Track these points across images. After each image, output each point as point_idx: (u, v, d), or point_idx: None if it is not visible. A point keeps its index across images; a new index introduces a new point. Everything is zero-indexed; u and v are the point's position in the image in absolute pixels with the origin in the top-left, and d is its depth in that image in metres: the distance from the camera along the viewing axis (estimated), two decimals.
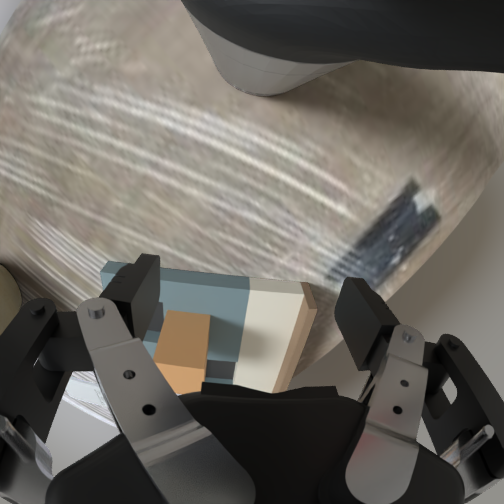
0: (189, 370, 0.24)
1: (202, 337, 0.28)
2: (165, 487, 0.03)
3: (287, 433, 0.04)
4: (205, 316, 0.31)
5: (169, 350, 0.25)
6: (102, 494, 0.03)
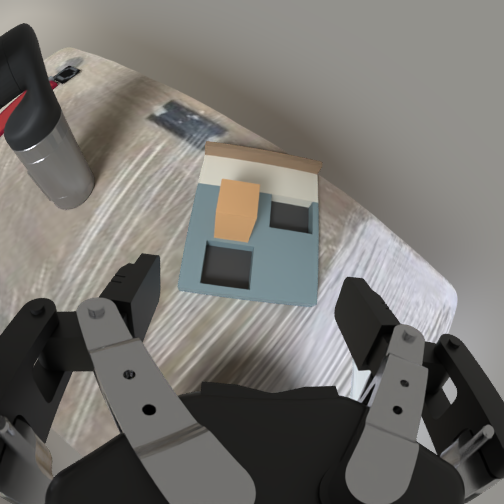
0: (223, 187, 0.35)
1: None
2: (165, 487, 0.03)
3: (287, 433, 0.04)
4: None
5: None
6: (102, 494, 0.03)
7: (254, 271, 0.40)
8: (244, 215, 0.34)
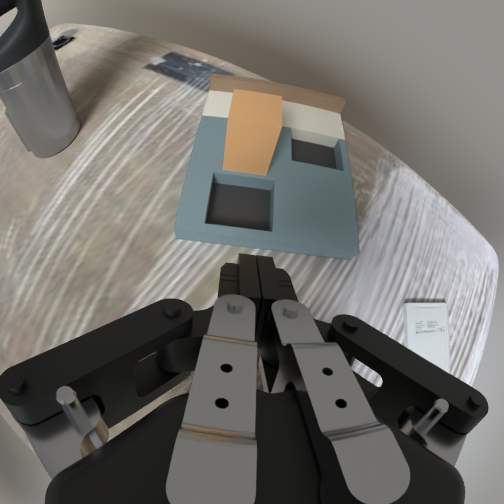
0: (236, 96, 0.25)
1: None
2: (165, 487, 0.03)
3: (287, 433, 0.04)
4: None
5: None
6: None
7: (277, 209, 0.30)
8: (265, 122, 0.24)
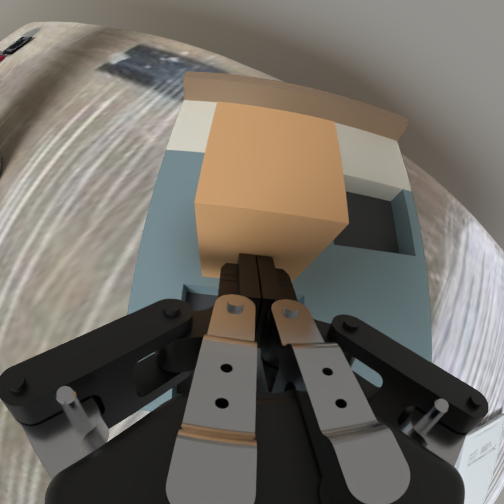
0: (222, 123, 0.10)
1: None
2: (165, 487, 0.03)
3: (287, 433, 0.04)
4: None
5: None
6: None
7: None
8: (304, 211, 0.09)
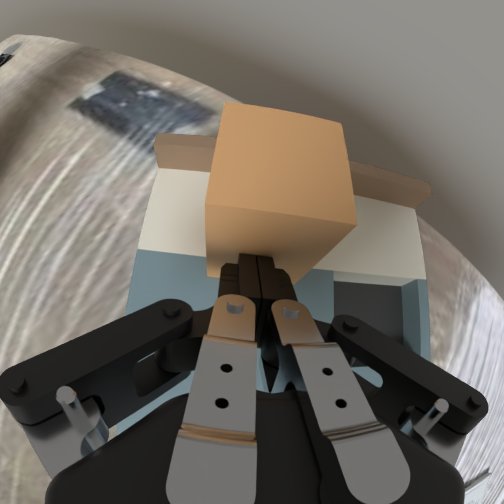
0: (230, 124, 0.10)
1: None
2: (165, 487, 0.03)
3: (287, 433, 0.04)
4: None
5: None
6: None
7: None
8: (314, 212, 0.09)
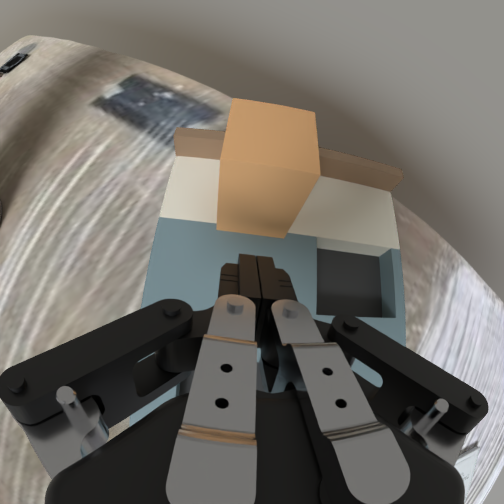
0: (236, 112, 0.14)
1: None
2: (165, 487, 0.03)
3: (287, 433, 0.04)
4: None
5: None
6: None
7: None
8: (290, 166, 0.13)
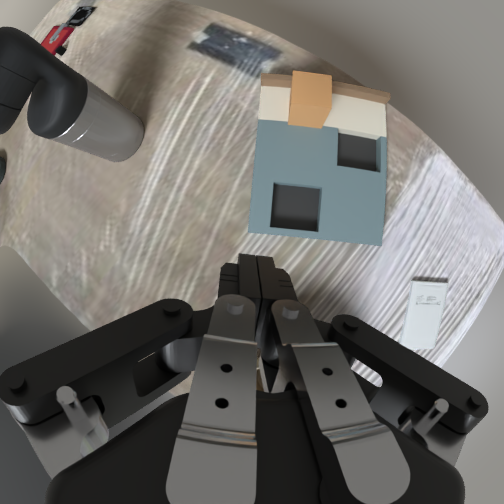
0: (295, 79, 0.30)
1: None
2: (165, 487, 0.03)
3: (287, 433, 0.04)
4: None
5: None
6: None
7: (323, 213, 0.39)
8: (319, 104, 0.30)
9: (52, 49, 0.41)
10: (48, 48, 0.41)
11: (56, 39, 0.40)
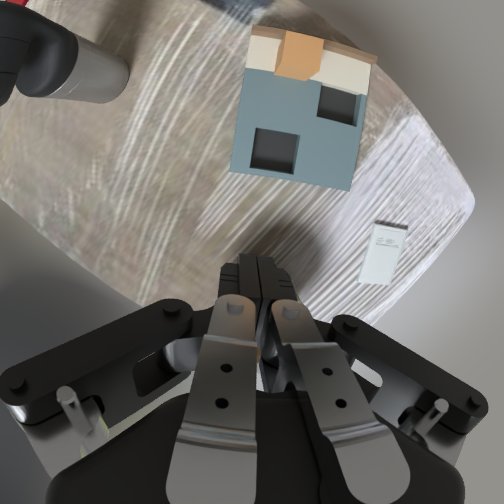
0: (288, 39, 0.27)
1: (281, 43, 0.31)
2: (165, 487, 0.03)
3: (287, 433, 0.04)
4: (278, 49, 0.34)
5: (280, 56, 0.30)
6: None
7: (299, 158, 0.42)
8: (308, 66, 0.29)
9: None
10: None
11: None
